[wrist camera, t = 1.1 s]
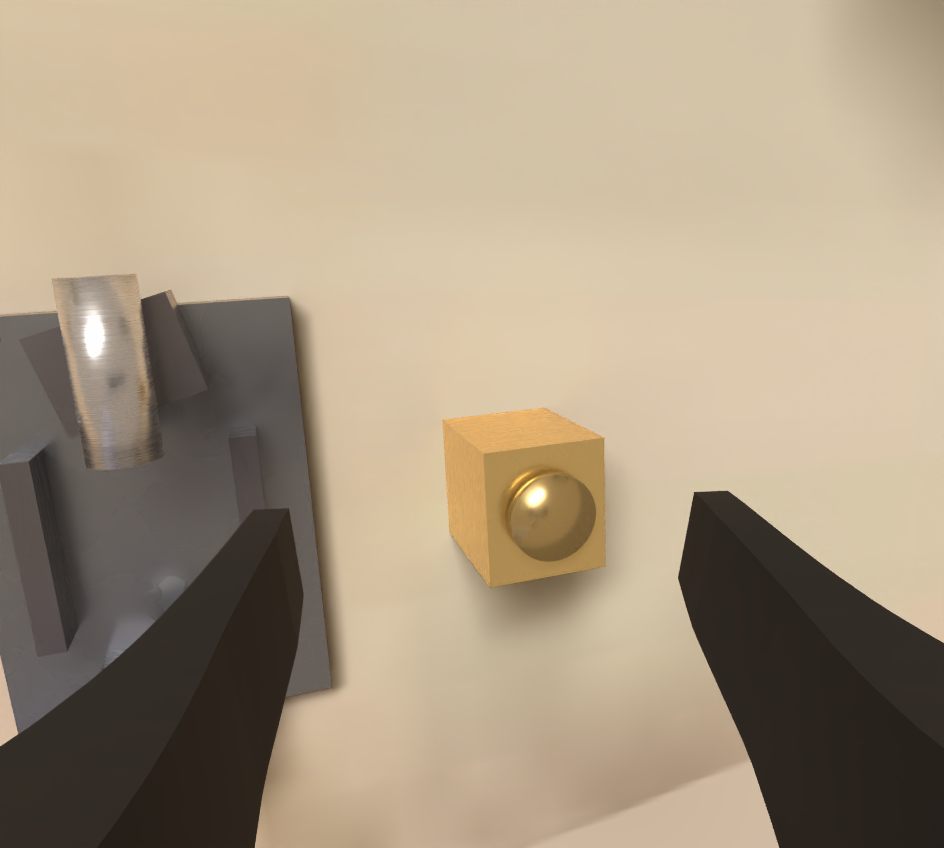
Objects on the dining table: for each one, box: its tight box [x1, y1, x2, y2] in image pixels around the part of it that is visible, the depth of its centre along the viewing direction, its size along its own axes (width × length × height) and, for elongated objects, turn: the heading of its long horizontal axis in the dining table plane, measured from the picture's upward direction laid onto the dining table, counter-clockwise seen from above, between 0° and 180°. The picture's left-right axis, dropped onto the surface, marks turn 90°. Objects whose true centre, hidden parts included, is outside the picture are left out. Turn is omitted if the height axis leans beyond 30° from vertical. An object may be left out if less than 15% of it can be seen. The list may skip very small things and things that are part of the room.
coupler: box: [443, 408, 605, 588], centre depth 25 cm, size 4×4×6 cm
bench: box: [0, 274, 332, 734], centre depth 22 cm, size 16×10×5 cm, turn 3°
